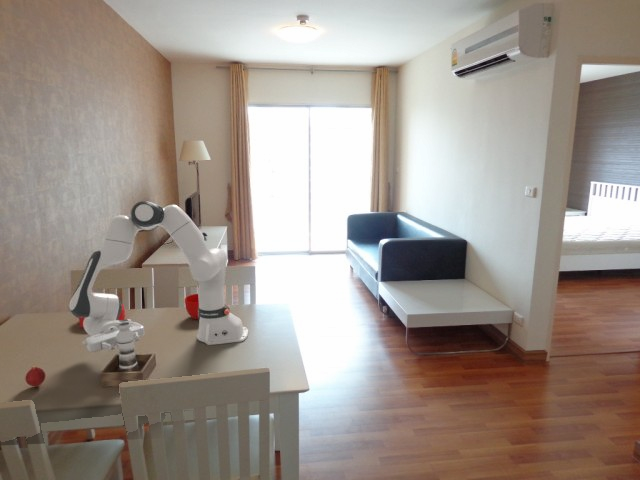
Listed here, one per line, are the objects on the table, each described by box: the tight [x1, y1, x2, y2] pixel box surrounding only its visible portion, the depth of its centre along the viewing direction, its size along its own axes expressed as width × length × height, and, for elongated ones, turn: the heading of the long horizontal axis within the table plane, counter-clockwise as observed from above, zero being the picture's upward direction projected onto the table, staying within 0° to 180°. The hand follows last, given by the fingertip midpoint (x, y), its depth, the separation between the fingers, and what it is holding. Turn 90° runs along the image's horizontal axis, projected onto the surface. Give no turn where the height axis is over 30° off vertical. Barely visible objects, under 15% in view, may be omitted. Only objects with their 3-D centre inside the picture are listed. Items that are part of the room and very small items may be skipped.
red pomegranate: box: [24, 365, 46, 388], centre depth 149 cm, size 6×6×8 cm
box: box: [99, 352, 157, 387], centre depth 157 cm, size 15×15×5 cm
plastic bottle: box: [116, 322, 138, 372], centre depth 155 cm, size 6×7×20 cm
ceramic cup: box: [184, 293, 199, 320], centre depth 213 cm, size 13×17×10 cm
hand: (125, 343), depth 155 cm, fingers open, 8 cm apart
